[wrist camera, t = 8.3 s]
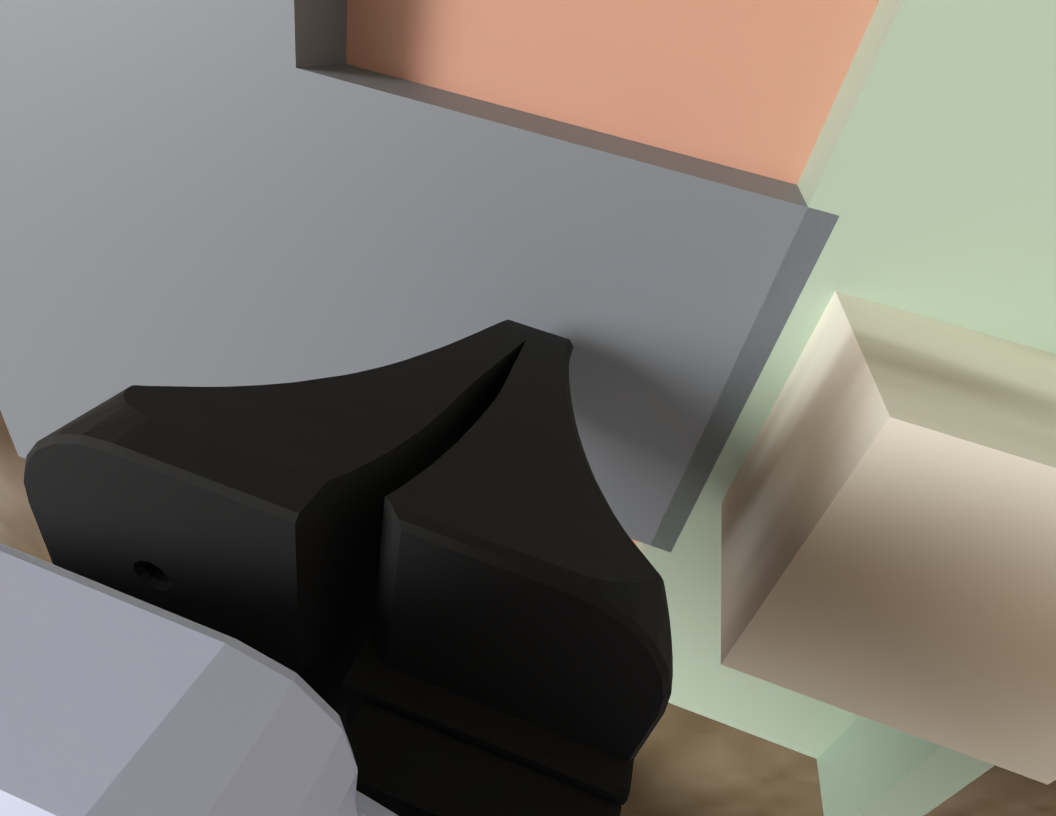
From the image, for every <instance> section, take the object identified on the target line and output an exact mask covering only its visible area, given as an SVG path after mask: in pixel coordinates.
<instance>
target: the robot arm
mask: <svg viewBox="0 0 1056 816" xmlns="http://www.w3.org/2000/svg"><path fill="white" fill-rule="evenodd" d="M572 350H573V345H572V343H571V341H570V339H567V338H564V337H561V336H558V335H555V334H552V333H548V332H545V331H542V330H539V329H536V328H533V327H530V326H527V325H524V324H521V323H518V322H514V321H511V320H505V321H502V322H500V323H497V324H495V325H493V326H491V327H488V328H486V329H484V330H482V331H479V332H477V333H475V334H473V335H470V336H468V337H465V338H463V339H461V340H458V341H456V342H454V343H451V344H449V345H446V346H444V347H441V348H438V349H435V350H433V351H430V352H427V353H424V354H421V355H418V356H415V357H412V358H410V359H407V360H404V361H400V362H397V363H394V364H390V365H386V366H383V367H379V368H374V369H370V370H366V371H361V372H357V373H352V374H347V375H341V376H334V377H327V378H320V379H313V380H307V381H300V382H291V383H280V384H268V385H251V386H230V387H186V386H141V385H132V386H130V387H128V388H126V389H125V390H123V391H121V392H120V393H118V394H116V395H115V396H113V397H111V398H110V399H108V400H106V401H105V402H103V403H101V404H100V405H98V406H96V407H95V408H93V409H91V410H90V411H88V412H86V413H84V414H83V415H81V416H79V417H78V418H76V419H74V420H73V421H71V422H69V423H68V424H66V425H64V426H63V427H61V428H59V429H58V430H56V431H54V432H53V433H51V434H49V435H48V436H46V437H44V438H42V439H41V440H39V441H37V442H36V444H35V445H34V446H33V448H32V449H31V450H30V452H29V453H28V454H27V456H26V464H25V473H24V484H25V488H26V492H27V496H28V500H29V504H30V506H31V509H32V511H33V514H34V516H35V519H36V522H37V524H38V527H39V529H40V532H41V534H42V537H43V539H44V542H45V544H46V547H47V550H48V552H49V555H50V557H51V560H52V562H53V564H51V563H49V562H46V561H44V560H41V559H39V558H36V557H34V556H31V555H29V554H27V553H24V552H22V551H19V550H17V549H14V548H12V547H9V546H7V545H4V544H2V543H0V816H620V812H621V805H624V803H625V802H626V801H627V799H628V795H629V792H630V786H631V778H632V770H633V762H634V757H635V756H636V754H637V753H638V751H639V750H640V748H641V747H642V745H643V744H644V742H645V741H646V739H647V738H648V736H649V735H650V733H651V732H652V730H653V729H654V727H655V726H656V724H657V723H658V721H659V720H660V718H661V717H662V715H663V714H664V712H665V709H666V707H667V704H668V701H669V699H670V696H671V691H672V679H673V654H672V637H671V627H670V617H669V610H668V603H667V597H666V591H665V585H664V581H663V579H662V577H661V575H660V574H659V573H658V572H657V571H656V569H655V568H654V567H653V566H652V564H651V563H650V562H649V561H648V559H647V558H646V557H645V556H644V554H643V553H642V552H641V551H640V549H639V548H638V547H637V546H636V544H635V543H634V542H633V541H632V540H631V538H630V537H629V536H628V534H627V533H626V532H625V530H624V529H623V527H622V526H621V524H620V523H619V521H618V520H617V518H616V516H615V515H614V513H613V511H612V510H611V508H610V506H609V504H608V502H607V500H606V498H605V496H604V495H603V493H602V491H601V489H600V487H599V485H598V483H597V481H596V479H595V477H594V475H593V472H592V470H591V467H590V465H589V463H588V460H587V458H586V455H585V452H584V449H583V446H582V443H581V440H580V437H579V433H578V429H577V425H576V421H575V416H574V412H573V406H572V401H571V392H570V383H569V361H570V357H571V354H572Z"/></svg>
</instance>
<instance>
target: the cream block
mask: <svg viewBox="0 0 1056 816" xmlns="http://www.w3.org/2000/svg"><path fill="white" fill-rule="evenodd" d="M721 665H724V666H726V667H729V668H732V669H734V670H737V671H740V672H743V673H745V674H748V675H751V676H754V677H756V678H759V679H762V680H764V681H767V682H770V683H773V684H775V685H778V686H781V687H783V688H786V689H789V690H792V691H794V692H797V693H800V694H802V695H805V696H808V697H811V698H813V699H816V700H819V701H822V702H824V703H827V704H830V705H832V706H835V707H838V708H841V709H843V710H846V711H849V712H851V713H854V714H857V715H860V716H862V717H865V718H868V719H870V720H873V721H876V722H879V723H881V724H884V725H887V726H890V727H892V728H895V729H898V730H900V731H903V732H906V733H909V734H911V735H914V736H917V737H919V738H922V739H925V740H928V741H930V742H933V743H936V744H938V745H941V746H944V747H947V748H949V749H952V750H955V751H958V752H960V753H963V754H966V755H968V756H971V757H974V758H977V759H979V760H982V761H985V762H987V763H990V764H993V765H996V766H998V767H1001V768H1004V769H1007V770H1009V771H1012V772H1015V773H1017V774H1020V775H1023V776H1026V777H1028V778H1031V779H1034V780H1036V781H1039V782H1042V783H1045V784H1047V785H1048V784H1050V783H1051V782H1053V781H1054V780H1056V354H1054V353H1051V352H1047V351H1044V350H1040V349H1037V348H1033V347H1030V346H1026V345H1023V344H1019V343H1016V342H1012V341H1009V340H1005V339H1002V338H998V337H995V336H991V335H988V334H984V333H981V332H977V331H974V330H970V329H967V328H963V327H960V326H956V325H953V324H949V323H946V322H942V321H939V320H935V319H932V318H928V317H925V316H921V315H918V314H914V313H911V312H907V311H904V310H901V309H897V308H894V307H890V306H887V305H883V304H880V303H876V302H873V301H869V300H866V299H862V298H859V297H855V296H852V295H848V294H845V293H841V292H838V291H835V292H834V294H833V296H832V298H831V300H830V301H829V303H828V305H827V307H826V309H825V311H824V313H823V314H822V316H821V318H820V320H819V322H818V324H817V326H816V328H815V329H814V331H813V333H812V335H811V337H810V339H809V341H808V342H807V344H806V346H805V348H804V350H803V352H802V354H801V356H800V357H799V359H798V361H797V363H796V365H795V367H794V369H793V371H792V372H791V374H790V376H789V378H788V380H787V382H786V384H785V385H784V387H783V389H782V391H781V393H780V395H779V397H778V399H777V400H776V402H775V404H774V406H773V408H772V410H771V412H770V413H769V415H768V417H767V419H766V421H765V423H764V425H763V427H762V428H761V430H760V432H759V434H758V436H757V438H756V440H755V441H754V443H753V445H752V447H751V449H750V451H749V453H748V455H747V456H746V458H745V460H744V462H743V464H742V466H741V468H740V469H739V471H738V473H737V475H736V477H735V479H734V481H733V483H732V484H731V486H730V488H729V490H728V492H727V494H726V496H725V497H724V499H723V501H722V506H721Z"/></svg>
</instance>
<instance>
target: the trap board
mask: <svg viewBox="0 0 1056 816" xmlns="http://www.w3.org/2000/svg"><path fill="white" fill-rule="evenodd" d="M835 291H838V292H841V293H845V294H848V295H852V296H855V297H859V298H862V299H866V300H869V301H873V302H876V303H880V304H883V305H887V306H890V307H894V308H897V309H901V310H904V311H907V312H911V313H914V314H918V315H921V316H925V317H928V318H932V319H935V320H939V321H942V322H946V323H949V324H953V325H956V326H960V327H963V328H967V329H970V330H974V331H977V332H981V333H984V334H988V335H991V336H995V337H998V338H1002V339H1005V340H1009V341H1012V342H1016V343H1019V344H1023V345H1026V346H1030V347H1033V348H1037V349H1040V350H1044V351H1047V352H1051V353H1054V354H1056V0H0V410H1V413H2V415H3V418H4V420H5V423H6V425H7V428H8V430H9V433H10V436H11V438H12V441H13V443H14V446H15V448H16V451H17V453H18V456H20V457H23V458H26V456H27V454H28V453H29V452H30V450H31V449H32V448H33V446H34V445H35V444H36V442H37V441H39V440H41V439H42V438H44V437H46V436H48V435H49V434H51V433H53V432H54V431H56V430H58V429H59V428H61V427H63V426H64V425H66V424H68V423H69V422H71V421H73V420H74V419H76V418H78V417H79V416H81V415H83V414H84V413H86V412H88V411H90V410H91V409H93V408H95V407H96V406H98V405H100V404H101V403H103V402H105V401H106V400H108V399H110V398H111V397H113V396H115V395H116V394H118V393H120V392H121V391H123V390H125V389H126V388H128V387H130V386H132V385H141V386H186V387H230V386H251V385H268V384H280V383H291V382H300V381H307V380H313V379H320V378H327V377H334V376H341V375H347V374H352V373H357V372H361V371H366V370H370V369H374V368H379V367H383V366H386V365H390V364H394V363H397V362H400V361H404V360H407V359H410V358H412V357H415V356H418V355H421V354H424V353H427V352H430V351H433V350H435V349H438V348H441V347H444V346H446V345H449V344H451V343H454V342H456V341H458V340H461V339H463V338H465V337H468V336H470V335H473V334H475V333H477V332H479V331H482V330H484V329H486V328H488V327H491V326H493V325H495V324H497V323H500V322H502V321H505V320H511V321H514V322H518V323H521V324H524V325H527V326H530V327H533V328H536V329H539V330H542V331H545V332H548V333H552V334H555V335H558V336H561V337H564V338H567V339H570V341H571V343H572V345H573V350H572V354H571V357H570V361H569V383H570V392H571V401H572V406H573V412H574V416H575V421H576V425H577V429H578V433H579V437H580V440H581V443H582V446H583V449H584V452H585V455H586V458H587V460H588V463H589V465H590V467H591V470H592V472H593V475H594V477H595V479H596V481H597V483H598V485H599V487H600V489H601V491H602V493H603V495H604V496H605V498H606V500H607V502H608V504H609V506H610V508H611V510H612V511H613V513H614V515H615V516H616V518H617V520H618V521H619V523H620V524H621V526H622V527H623V529H624V530H625V532H626V533H627V534H628V536H629V537H630V538H631V540H632V541H633V542H634V543H635V544H636V546H637V547H638V548H639V549H640V551H641V552H642V553H643V554H644V556H645V557H646V558H647V559H648V561H649V562H650V563H651V564H652V566H653V567H654V568H655V569H656V571H657V572H658V573H659V574H660V575H661V577H662V579H663V581H664V585H665V591H666V597H667V603H668V610H669V617H670V627H671V637H672V654H673V679H672V691H671V696H670V699H669V701H668V703H671V704H674V705H676V706H679V707H682V708H684V709H687V710H689V711H692V712H695V713H697V714H700V715H703V716H705V717H708V718H711V719H713V720H716V721H718V722H721V723H724V724H726V725H729V726H732V727H734V728H737V729H739V730H742V731H745V732H747V733H750V734H753V735H755V736H758V737H761V738H763V739H766V740H768V741H771V742H774V743H776V744H779V745H782V746H784V747H787V748H790V749H792V750H795V751H797V752H800V753H803V754H805V755H808V756H811V757H813V758H816V759H817V766H818V773H819V781H820V789H821V797H822V805H823V812H824V816H924V815H926V814H927V813H928V812H930V811H931V810H933V809H934V808H935V807H937V806H938V805H940V804H941V803H942V802H944V801H945V800H947V799H948V798H950V797H951V796H952V795H954V794H955V793H957V792H958V791H959V790H961V789H962V788H964V787H965V786H966V785H968V784H969V783H971V782H972V781H974V780H975V779H976V778H978V777H979V776H981V775H982V774H983V773H985V772H986V771H988V770H989V769H990V768H992V767H993V766H995V765H993V764H990V763H987V762H985V761H982V760H979V759H977V758H974V757H971V756H968V755H966V754H963V753H960V752H958V751H955V750H952V749H949V748H947V747H944V746H941V745H938V744H936V743H933V742H930V741H928V740H925V739H922V738H919V737H917V736H914V735H911V734H909V733H906V732H903V731H900V730H898V729H895V728H892V727H890V726H887V725H884V724H881V723H879V722H876V721H873V720H870V719H868V718H865V717H862V716H860V715H857V714H854V713H851V712H849V711H846V710H843V709H841V708H838V707H835V706H832V705H830V704H827V703H824V702H822V701H819V700H816V699H813V698H811V697H808V696H805V695H802V694H800V693H797V692H794V691H792V690H789V689H786V688H783V687H781V686H778V685H775V684H773V683H770V682H767V681H764V680H762V679H759V678H756V677H754V676H751V675H748V674H745V673H743V672H740V671H737V670H734V669H732V668H729V667H726V666H724V665H721V506H722V501H723V499H724V497H725V496H726V494H727V492H728V490H729V488H730V486H731V484H732V483H733V481H734V479H735V477H736V475H737V473H738V471H739V469H740V468H741V466H742V464H743V462H744V460H745V458H746V456H747V455H748V453H749V451H750V449H751V447H752V445H753V443H754V441H755V440H756V438H757V436H758V434H759V432H760V430H761V428H762V427H763V425H764V423H765V421H766V419H767V417H768V415H769V413H770V412H771V410H772V408H773V406H774V404H775V402H776V400H777V399H778V397H779V395H780V393H781V391H782V389H783V387H784V385H785V384H786V382H787V380H788V378H789V376H790V374H791V372H792V371H793V369H794V367H795V365H796V363H797V361H798V359H799V357H800V356H801V354H802V352H803V350H804V348H805V346H806V344H807V342H808V341H809V339H810V337H811V335H812V333H813V331H814V329H815V328H816V326H817V324H818V322H819V320H820V318H821V316H822V314H823V313H824V311H825V309H826V307H827V305H828V303H829V301H830V300H831V298H832V296H833V294H834V292H835Z"/></svg>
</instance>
